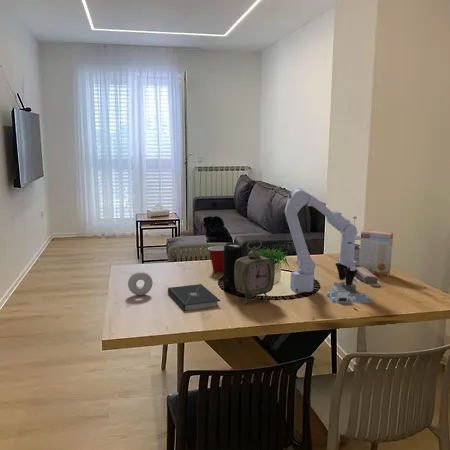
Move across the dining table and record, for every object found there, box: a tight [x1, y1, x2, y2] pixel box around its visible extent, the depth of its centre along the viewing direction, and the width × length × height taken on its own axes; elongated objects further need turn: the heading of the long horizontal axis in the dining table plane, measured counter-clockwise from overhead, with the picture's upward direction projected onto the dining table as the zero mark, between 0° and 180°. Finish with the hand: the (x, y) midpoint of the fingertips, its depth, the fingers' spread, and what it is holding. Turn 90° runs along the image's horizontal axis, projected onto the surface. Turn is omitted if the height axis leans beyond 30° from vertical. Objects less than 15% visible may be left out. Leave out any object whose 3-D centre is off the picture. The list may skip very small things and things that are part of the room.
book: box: [167, 283, 221, 312], centre depth 190 cm, size 22×15×3 cm
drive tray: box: [323, 290, 375, 305], centre depth 192 cm, size 17×11×3 cm, turn 97°
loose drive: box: [333, 281, 357, 292], centre depth 202 cm, size 4×8×4 cm, turn 97°
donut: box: [127, 271, 153, 296], centre depth 194 cm, size 10×4×10 cm, turn 106°
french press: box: [352, 215, 361, 266], centre depth 249 cm, size 10×12×25 cm
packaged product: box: [353, 266, 383, 287], centre depth 219 cm, size 18×5×10 cm
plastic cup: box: [207, 245, 225, 273], centre depth 230 cm, size 11×11×12 cm
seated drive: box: [330, 285, 350, 302], centre depth 191 cm, size 4×8×4 cm, turn 7°
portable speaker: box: [222, 242, 244, 292], centre depth 203 cm, size 9×9×20 cm
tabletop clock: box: [234, 238, 275, 305], centre depth 189 cm, size 14×9×25 cm, turn 122°
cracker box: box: [358, 229, 394, 278], centre depth 229 cm, size 14×6×21 cm, turn 58°
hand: (345, 282), depth 202 cm, fingers open, 7 cm apart
